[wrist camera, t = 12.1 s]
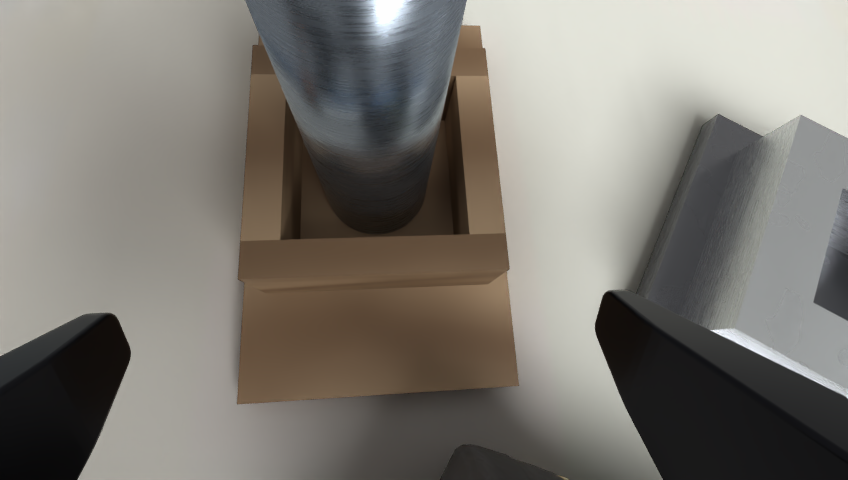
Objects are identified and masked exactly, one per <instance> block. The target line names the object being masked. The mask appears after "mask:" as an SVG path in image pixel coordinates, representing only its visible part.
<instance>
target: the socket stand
mask: <svg viewBox="0 0 848 480" xmlns="http://www.w3.org/2000/svg"><path fill="white" fill-rule="evenodd" d="M637 295H639V296H642V297H644V298H646V299H648V300H650V301H652V302H654V303H656V304H658V305H660V306H662V307H664V308H666V309H668V310H670V311H672V312H674V313H676V314H678V315H680V316H682V317H684V318H686V319H688V320H690V321H693V322H695V323H697V324H699V325H701V326H703V327H705V328H707V329H709V330H711V331H713V332H715V333H717V334H719V335H721V336H723V337H725V338H727V339H729V340H731V341H733V342H735V343H737V344H739V345H741V346H744V347H746V348H748V349H750V350H752V351H754V352H756V353H758V354H760V355H762V356H764V357H766V358H768V359H770V360H772V361H774V362H776V363H778V364H780V365H782V366H784V367H786V368H788V369H790V370H793V371H795V372H797V373H799V374H801V375H803V376H805V377H807V378H809V379H811V380H813V381H815V382H817V383H819V384H821V385H823V386H825V387H827V388H829V389H831V390H833V391H835V392H837V393H840V394H842V395H844V396H846V397H847V398H848V138H846V137H844V136H842V135H840V134H838V133H836V132H834V131H832V130H830V129H828V128H826V127H824V126H822V125H820V124H818V123H816V122H814V121H812V120H810V119H808V118H806V117H804V116H802V115H800V116H798V117H796V118H795V119H793V120H791V121H790V122H788V123H786V124H784V125H783V126H781V127H779V128H777V129H776V130H774V131H772V132H771V133H769V134H767V135H765V136H764V137H762V136H760V135H759V134H757V133H755V132H753V131H751V130H749V129H747V128H745V127H743V126H741V125H739V124H737V123H735V122H733V121H731V120H729V119H727V118H725V117H723V116H721V115H719V114H718V115H716V116H715V117H714V118H712V119H711V120H709V121H708V122H707V123H705V124H704V125H703V126H702V128H701V131H700V134H699V136H698V139H697V141H696V144H695V146H694V149H693V151H692V154H691V156H690V159H689V161H688V164H687V167H686V169H685V172H684V174H683V177H682V179H681V182H680V184H679V187H678V189H677V192H676V195H675V197H674V200H673V202H672V205H671V207H670V210H669V212H668V215H667V217H666V220H665V223H664V225H663V228H662V230H661V233H660V235H659V238H658V240H657V243H656V245H655V248H654V251H653V253H652V256H651V258H650V261H649V263H648V266H647V268H646V271H645V273H644V276H643V278H642V281H641V284H640V286H639V289H638V291H637Z"/></svg>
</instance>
